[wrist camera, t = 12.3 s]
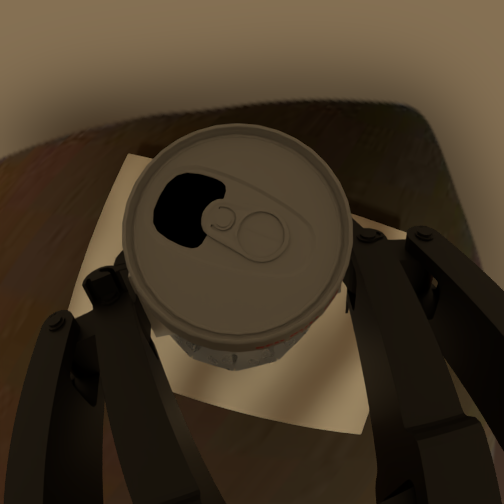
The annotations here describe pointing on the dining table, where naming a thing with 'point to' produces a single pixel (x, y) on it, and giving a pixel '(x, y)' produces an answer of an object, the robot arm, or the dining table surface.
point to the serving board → (264, 376)
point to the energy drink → (237, 237)
